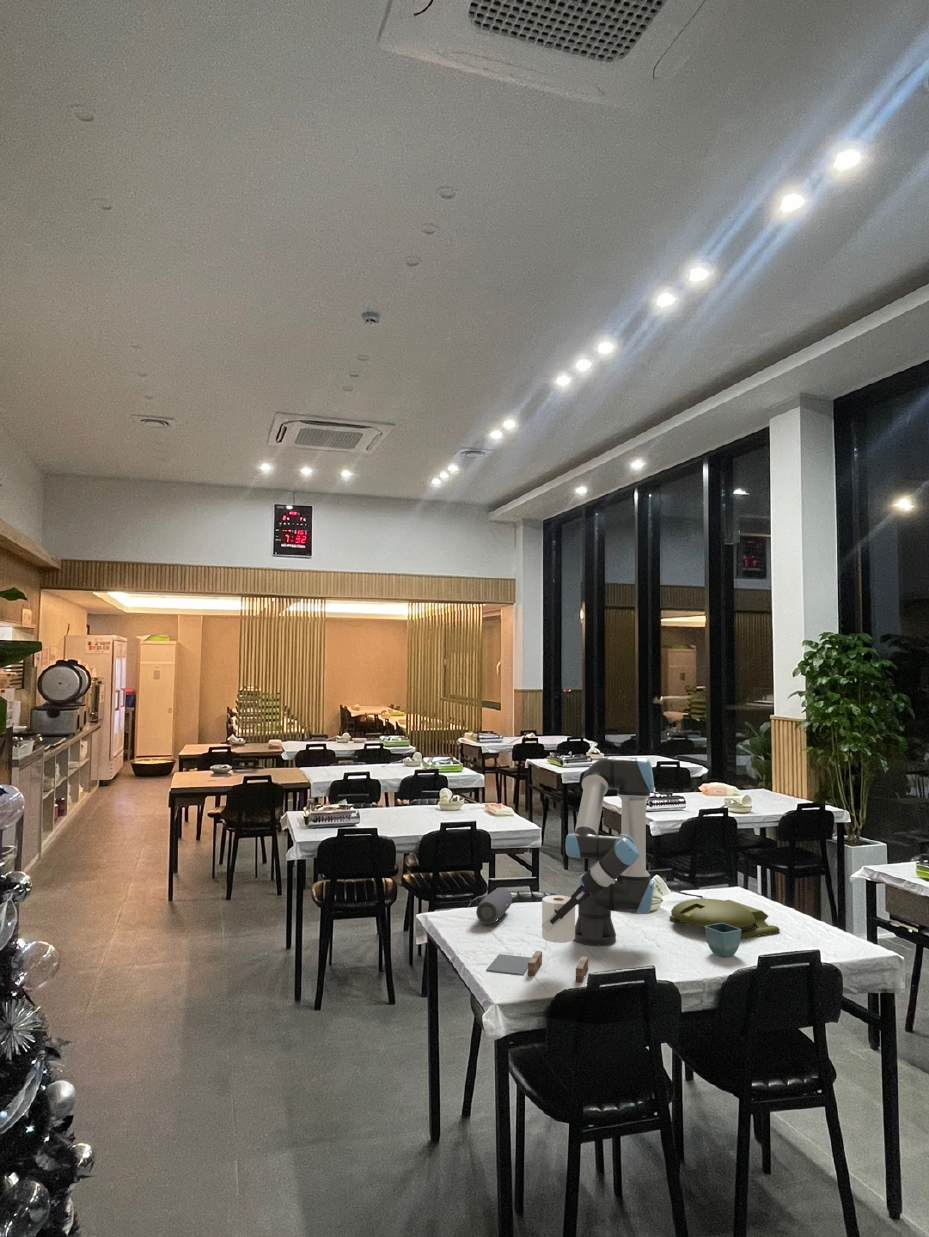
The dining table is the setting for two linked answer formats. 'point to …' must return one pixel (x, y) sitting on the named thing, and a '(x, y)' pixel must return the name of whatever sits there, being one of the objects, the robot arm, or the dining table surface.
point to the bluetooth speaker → (494, 905)
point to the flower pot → (723, 939)
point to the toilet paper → (565, 926)
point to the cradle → (537, 962)
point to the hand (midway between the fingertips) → (549, 923)
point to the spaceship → (723, 915)
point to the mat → (509, 964)
